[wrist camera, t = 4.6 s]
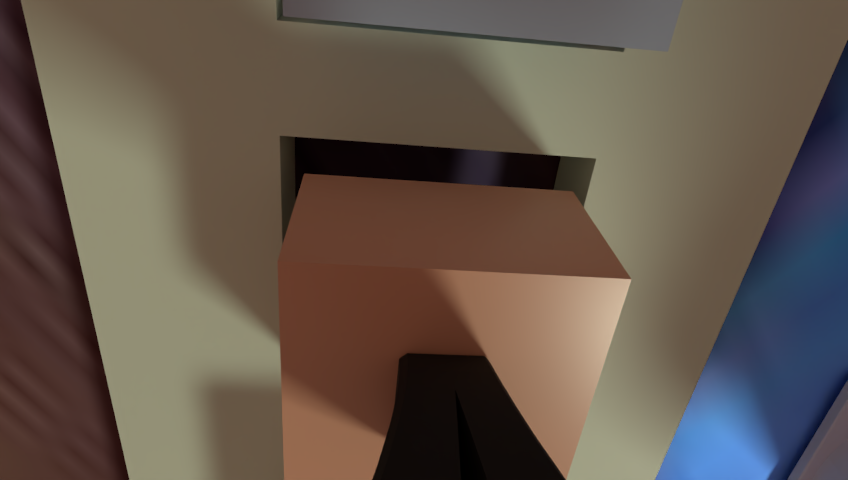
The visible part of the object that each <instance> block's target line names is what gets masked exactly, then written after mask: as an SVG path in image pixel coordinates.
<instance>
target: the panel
mask: <svg viewBox="0 0 848 480" xmlns="http://www.w3.org/2000/svg"><path fill="white" fill-rule="evenodd" d="M21 3H22V8H23V12H24V16H25V21H26V25H27V30H28V34H29V38H30V43H31V47H32V52H33V56H34V61H35V65H36V69H37V74H38V78H39V83H40V87H41V91H42V96H43V100H44V105H45V109H46V114H47V118H48V122H49V127H50V131H51V136H52V140H53V144H54V149H55V153H56V158H57V162H58V167H59V171H60V175H61V180H62V184H63V189H64V193H65V197H66V202H67V206H68V211H69V215H70V219H71V224H72V228H73V233H74V237H75V242H76V246H77V250H78V255H79V259H80V264H81V268H82V272H83V277H84V281H85V286H86V290H87V295H88V299H89V303H90V308H91V312H92V317H93V321H94V325H95V330H96V334H97V339H98V343H99V348H100V352H101V356H102V361H103V365H104V370H105V374H106V378H107V383H108V387H109V392H110V396H111V400H112V405H113V409H114V414H115V418H116V423H117V427H118V431H119V436H120V440H121V445H122V449H123V453H124V458H125V462H126V467H127V471H128V476H129V480H284V457H283V425H282V392H281V360H280V327H279V295H278V262H277V261H278V258H279V255H280V251H281V248H282V245H283V241H284V238H285V235H286V232H287V228H288V225H289V222H290V218H291V215H292V212H293V209H294V205H295V202H296V200H295V137H306V138H320V139H334V140H347V141H361V142H375V143H389V144H403V145H417V146H431V147H444V148H458V149H472V150H486V151H500V152H514V153H528V154H542V155H555V156H561V158H560V162H559V167H558V171H557V175H556V180H555V184H554V189H553V190H561V191H573V192H574V194H575V195H576V197H577V198H578V200H579V201H580V203H581V204H582V206H583V207H584V209H585V210H586V212H587V213H588V215H589V216H590V218H591V219H592V221H593V222H594V224H595V225H596V227H597V228H598V230H599V231H600V233H601V234H602V236H603V237H604V239H605V240H606V242H607V243H608V245H609V246H610V248H611V249H612V251H613V252H614V254H615V255H616V257H617V258H618V260H619V261H620V263H621V264H622V266H623V267H624V269H625V270H626V272H627V273H628V275H629V276H630V278H631V279H632V280H631V283H630V286H629V289H628V292H627V295H626V298H625V301H624V304H623V307H622V310H621V313H620V316H619V319H618V323H617V326H616V329H615V332H614V335H613V338H612V341H611V344H610V347H609V350H608V353H607V356H606V359H605V362H604V365H603V369H602V372H601V375H600V378H599V381H598V384H597V387H596V390H595V393H594V396H593V399H592V402H591V405H590V408H589V411H588V414H587V418H586V421H585V424H584V427H583V430H582V433H581V436H580V439H579V442H578V445H577V448H576V451H575V454H574V457H573V460H572V464H571V467H570V470H569V473H568V476H567V479H566V480H655V478H656V476H657V473H658V471H659V469H660V467H661V464H662V462H663V460H664V458H665V455H666V453H667V451H668V448H669V446H670V444H671V442H672V439H673V437H674V435H675V432H676V430H677V428H678V426H679V423H680V421H681V419H682V416H683V414H684V412H685V410H686V407H687V405H688V403H689V400H690V398H691V396H692V394H693V391H694V389H695V387H696V385H697V382H698V380H699V378H700V375H701V373H702V371H703V369H704V366H705V364H706V362H707V359H708V357H709V355H710V353H711V350H712V348H713V346H714V343H715V341H716V339H717V337H718V334H719V332H720V330H721V327H722V325H723V323H724V321H725V318H726V316H727V314H728V312H729V309H730V307H731V305H732V302H733V300H734V298H735V296H736V293H737V291H738V289H739V286H740V284H741V282H742V280H743V277H744V275H745V273H746V270H747V268H748V266H749V264H750V261H751V259H752V257H753V254H754V252H755V250H756V248H757V245H758V243H759V241H760V239H761V236H762V234H763V232H764V229H765V227H766V225H767V223H768V220H769V218H770V216H771V213H772V211H773V209H774V207H775V204H776V202H777V200H778V197H779V195H780V193H781V191H782V188H783V186H784V184H785V181H786V179H787V177H788V175H789V172H790V170H791V168H792V166H793V163H794V161H795V159H796V156H797V154H798V152H799V150H800V147H801V145H802V143H803V140H804V138H805V136H806V134H807V131H808V129H809V127H810V124H811V122H812V120H813V118H814V115H815V113H816V111H817V108H818V106H819V104H820V102H821V99H822V97H823V95H824V93H825V90H826V88H827V86H828V83H829V81H830V79H831V77H832V74H833V72H834V70H835V67H836V65H837V63H838V61H839V58H840V56H841V54H842V51H843V49H844V47H845V45H846V42H847V40H848V0H683V2H682V6H681V9H680V13H679V16H678V19H677V23H676V26H675V30H674V33H673V36H672V40H671V43H670V46H669V50H668V52H665V51H654V50H643V49H632V48H622V47H611V46H600V45H589V44H578V43H567V42H556V41H546V40H535V39H524V38H513V37H502V36H491V35H481V34H470V33H459V32H448V31H437V30H426V29H416V28H405V27H394V26H383V25H372V24H361V23H351V22H340V21H329V20H318V19H307V18H296V17H286V16H283V0H21Z"/></svg>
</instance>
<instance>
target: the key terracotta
mask: <svg viewBox="0 0 848 480" xmlns="http://www.w3.org/2000/svg"><path fill="white" fill-rule="evenodd" d="M277 262H278V295H279V327H280V360H281V392H282V425H283V457H284V480H372V479H373V476H374V473H375V470H376V467H377V464H378V461H379V458H380V455H381V452H382V448H383V445H384V442H385V438H386V435H387V432H388V429H389V425H390V422H391V418H392V413H393V409H394V404H395V394H396V384H397V374H398V364H399V358H401V357H402V356H404V355H405V354H407V353H414V354H442V355H471V356H485V357H486V358H487V359H488V361H489V362H490V363H491V365H492V367H493V368H494V370H495V372H496V374H497V375H498V377H499V379H500V380H501V382H502V384H503V385H504V387H505V389H506V390H507V392H508V394H509V395H510V397H511V399H512V400H513V402H514V404H515V405H516V407H517V408H518V410H519V411H520V413H521V415H522V416H523V418H524V419H525V421H526V422H527V424H528V425H529V427H530V428H531V430H532V431H533V433H534V434H535V436H536V437H537V439H538V440H539V442H540V443H541V445H542V446H543V448H544V449H545V451H546V452H547V453H548V455H549V456H550V458H551V459H552V461H553V462H554V463H555V465H556V466H557V468H558V469H559V470H560V472H561V473H562V475H563V476H564V478H565V479H567V476H568V473H569V470H570V467H571V464H572V460H573V457H574V454H575V451H576V448H577V445H578V442H579V439H580V436H581V433H582V430H583V427H584V424H585V421H586V418H587V414H588V411H589V408H590V405H591V402H592V399H593V396H594V393H595V390H596V387H597V384H598V381H599V378H600V375H601V372H602V369H603V365H604V362H605V359H606V356H607V353H608V350H609V347H610V344H611V341H612V338H613V335H614V332H615V329H616V326H617V323H618V319H619V316H620V313H621V310H622V307H623V304H624V301H625V298H626V295H627V292H628V289H629V286H630V283H631V280H632V279H631V278H630V276H629V275H628V273H627V272H626V270H625V269H624V267H623V266H622V264H621V263H620V261H619V260H618V258H617V257H616V255H615V254H614V252H613V251H612V249H611V248H610V246H609V245H608V243H607V242H606V240H605V239H604V237H603V236H602V234H601V233H600V231H599V230H598V228H597V227H596V225H595V224H594V222H593V221H592V219H591V218H590V216H589V215H588V213H587V212H586V210H585V209H584V207H583V206H582V204H581V203H580V201H579V200H578V198H577V197H576V195H575V194H574V192H573V191H561V190H546V189H531V188H515V187H500V186H485V185H470V184H455V183H440V182H425V181H409V180H394V179H379V178H364V177H349V176H334V175H318V174H304V176H303V179H302V182H301V186H300V189H299V192H298V195H297V199H296V202H295V205H294V209H293V212H292V215H291V218H290V222H289V225H288V228H287V232H286V235H285V238H284V241H283V245H282V248H281V251H280V255H279V258H278V261H277Z"/></svg>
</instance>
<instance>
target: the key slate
mask: <svg viewBox="0 0 848 480" xmlns="http://www.w3.org/2000/svg"><path fill="white" fill-rule="evenodd" d="M682 2H683V0H283V16H286V17H296V18H307V19H318V20H329V21H340V22H351V23H361V24H372V25H383V26H394V27H405V28H416V29H426V30H437V31H448V32H459V33H470V34H481V35H491V36H502V37H513V38H524V39H535V40H546V41H556V42H567V43H578V44H589V45H600V46H611V47H622V48H632V49H643V50H654V51H665V52H668V50H669V46H670V43H671V40H672V36H673V33H674V30H675V26H676V23H677V19H678V16H679V13H680V9H681V6H682Z"/></svg>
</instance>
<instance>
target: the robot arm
mask: <svg viewBox="0 0 848 480" xmlns="http://www.w3.org/2000/svg"><path fill="white" fill-rule="evenodd" d="M372 480H566V479H565V478H564V476H563V475H562V473H561V472H560V470H559V469H558V468H557V466H556V465H555V463H554V462H553V461H552V459H551V458H550V456H549V455H548V453H547V452H546V451H545V449H544V448H543V446H542V445H541V443H540V442H539V440H538V439H537V437H536V436H535V434H534V433H533V431H532V430H531V428H530V427H529V425H528V424H527V422H526V421H525V419H524V418H523V416H522V415H521V413H520V411H519V410H518V408H517V407H516V405H515V404H514V402H513V400H512V399H511V397H510V395H509V394H508V392H507V390H506V389H505V387H504V385H503V384H502V382H501V380H500V379H499V377H498V375H497V374H496V372H495V370H494V368H493V367H492V365H491V363H490V362H489V361H488V359H487V358H486V357H485V356H471V355H442V354H414V353H407V354H405V355H404V356H402V357H401V358H399V364H398V374H397V384H396V394H395V404H394V409H393V413H392V418H391V422H390V425H389V429H388V432H387V435H386V438H385V442H384V445H383V448H382V452H381V455H380V458H379V461H378V464H377V467H376V470H375V473H374V476H373V479H372ZM787 480H848V380H847V382H846V383H845V385H844V387H843V388H842V390H841V392H840V393H839V395H838V397H837V398H836V400H835V402H834V403H833V405H832V407H831V408H830V410H829V411H828V413H827V415H826V416H825V418H824V420H823V421H822V423H821V425H820V426H819V428H818V430H817V431H816V433H815V435H814V436H813V438H812V440H811V441H810V443H809V444H808V446H807V448H806V449H805V451H804V453H803V454H802V456H801V458H800V459H799V461H798V463H797V464H796V466H795V468H794V469H793V471H792V473H791V474H790V476H789V477H788V479H787Z"/></svg>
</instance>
